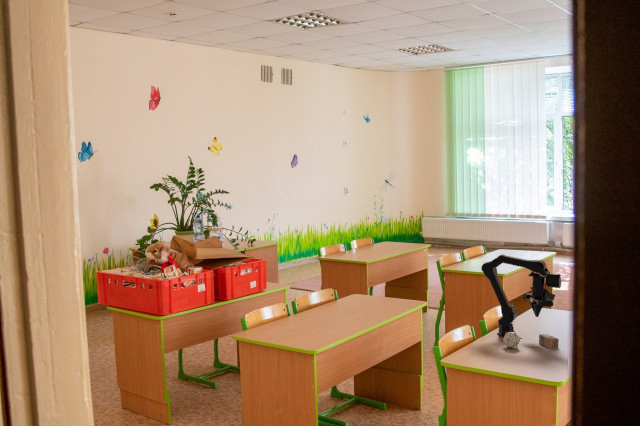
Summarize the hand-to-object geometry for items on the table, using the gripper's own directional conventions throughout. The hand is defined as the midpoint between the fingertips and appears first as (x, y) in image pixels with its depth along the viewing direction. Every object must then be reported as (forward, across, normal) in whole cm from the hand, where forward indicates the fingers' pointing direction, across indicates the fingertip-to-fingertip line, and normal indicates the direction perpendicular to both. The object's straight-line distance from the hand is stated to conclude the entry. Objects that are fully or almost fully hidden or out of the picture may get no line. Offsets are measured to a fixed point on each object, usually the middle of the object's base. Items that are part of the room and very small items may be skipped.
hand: (536, 316), depth 293 cm
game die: (+12, -11, +19) cm, 25 cm away
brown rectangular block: (+10, -6, 0) cm, 11 cm away
